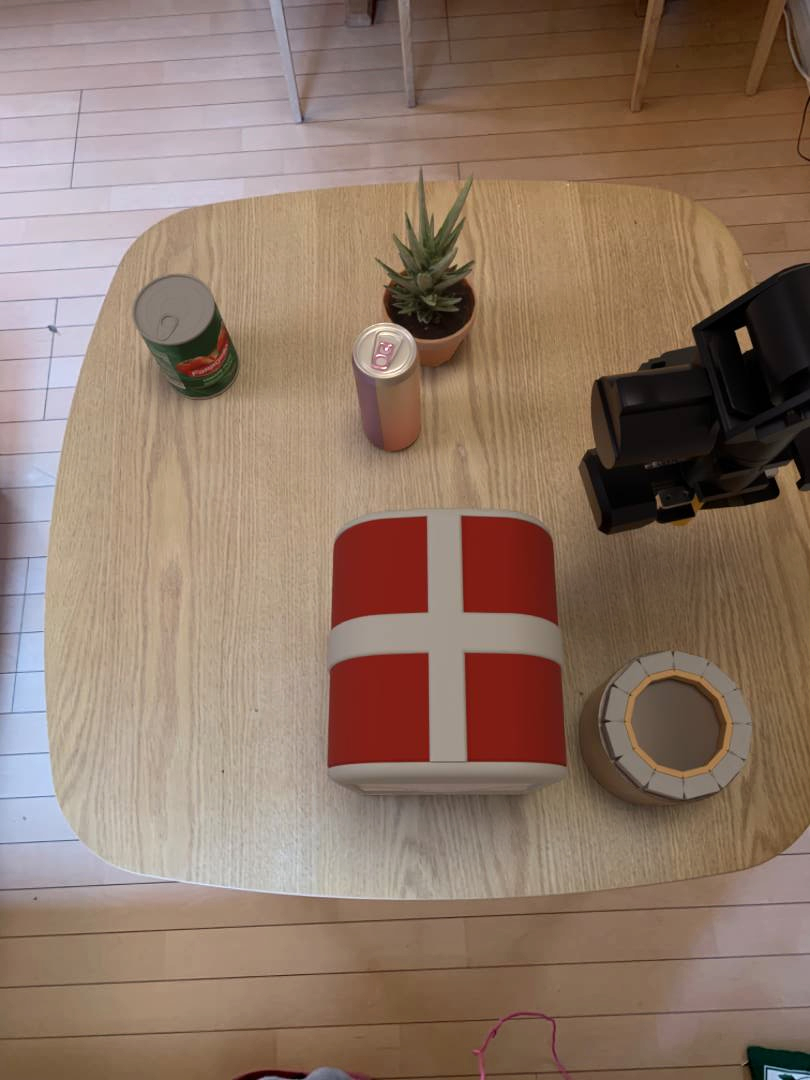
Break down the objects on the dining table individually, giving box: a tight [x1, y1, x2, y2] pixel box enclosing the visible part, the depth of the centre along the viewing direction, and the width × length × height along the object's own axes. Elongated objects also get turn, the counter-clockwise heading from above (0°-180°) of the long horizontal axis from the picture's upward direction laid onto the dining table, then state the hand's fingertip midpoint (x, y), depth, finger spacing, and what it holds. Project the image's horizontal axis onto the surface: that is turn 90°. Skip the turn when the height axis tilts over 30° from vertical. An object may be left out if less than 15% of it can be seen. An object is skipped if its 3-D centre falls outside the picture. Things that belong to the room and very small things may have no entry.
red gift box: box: [326, 507, 568, 796], centre depth 66 cm, size 16×18×27 cm
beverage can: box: [351, 322, 422, 451], centre depth 81 cm, size 6×6×15 cm
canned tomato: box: [131, 272, 240, 400], centre depth 86 cm, size 8×8×11 cm
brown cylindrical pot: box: [578, 650, 750, 807], centre depth 72 cm, size 12×12×10 cm
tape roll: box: [601, 650, 754, 800], centre depth 67 cm, size 11×11×2 cm
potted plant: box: [373, 164, 478, 367], centre depth 79 cm, size 10×10×25 cm
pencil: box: [669, 493, 705, 528], centre depth 67 cm, size 2×2×8 cm
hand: (681, 507), depth 70 cm, fingers closed on pencil, 2 cm apart
